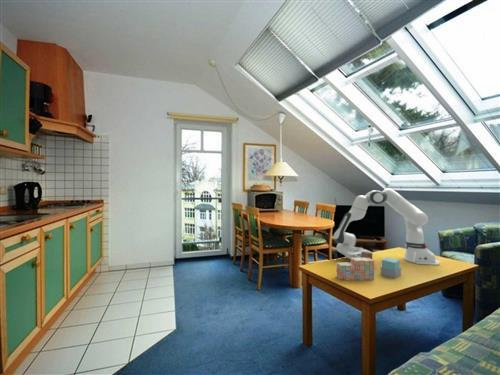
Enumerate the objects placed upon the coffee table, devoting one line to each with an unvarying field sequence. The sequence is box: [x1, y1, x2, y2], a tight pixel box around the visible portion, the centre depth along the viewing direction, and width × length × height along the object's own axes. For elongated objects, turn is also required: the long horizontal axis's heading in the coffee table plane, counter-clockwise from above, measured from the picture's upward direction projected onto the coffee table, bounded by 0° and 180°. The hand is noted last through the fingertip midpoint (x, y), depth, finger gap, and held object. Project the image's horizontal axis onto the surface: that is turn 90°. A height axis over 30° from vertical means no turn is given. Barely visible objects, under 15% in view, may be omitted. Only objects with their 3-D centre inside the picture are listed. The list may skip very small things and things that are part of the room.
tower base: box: [380, 266, 402, 279], centre depth 165 cm, size 9×9×5 cm
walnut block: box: [362, 250, 373, 260], centre depth 181 cm, size 5×5×10 cm
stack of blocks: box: [336, 257, 375, 281], centre depth 159 cm, size 21×6×12 cm, turn 92°
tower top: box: [381, 257, 401, 270], centre depth 165 cm, size 8×8×5 cm
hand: (365, 257), depth 182 cm, fingers open, 8 cm apart
